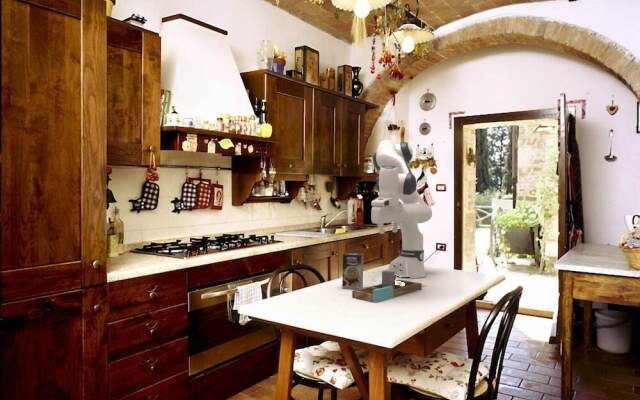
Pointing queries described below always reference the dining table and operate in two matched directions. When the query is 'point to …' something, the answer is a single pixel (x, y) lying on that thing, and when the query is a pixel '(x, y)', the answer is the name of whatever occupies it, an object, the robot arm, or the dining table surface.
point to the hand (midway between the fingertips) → (388, 232)
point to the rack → (385, 291)
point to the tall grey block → (388, 278)
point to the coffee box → (352, 271)
